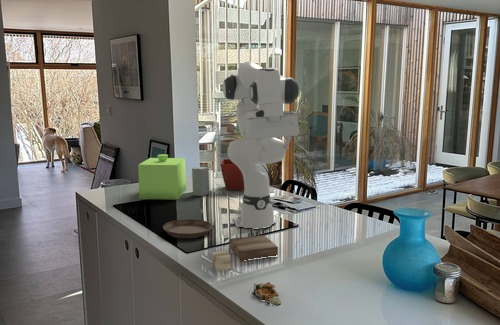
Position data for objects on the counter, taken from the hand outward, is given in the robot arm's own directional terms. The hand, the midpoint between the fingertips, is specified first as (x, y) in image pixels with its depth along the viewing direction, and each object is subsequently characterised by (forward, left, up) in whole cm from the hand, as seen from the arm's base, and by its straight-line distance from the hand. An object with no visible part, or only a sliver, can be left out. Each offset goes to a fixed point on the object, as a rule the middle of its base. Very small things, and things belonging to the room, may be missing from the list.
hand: (274, 150), depth 165 cm
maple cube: (+10, -23, -38) cm, 46 cm away
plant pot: (-107, +20, -39) cm, 116 cm away
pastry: (+35, -16, -39) cm, 54 cm away
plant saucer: (-32, -26, -39) cm, 57 cm away
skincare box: (-98, -5, -39) cm, 106 cm away
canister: (-106, -25, -39) cm, 116 cm away
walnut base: (0, -8, -38) cm, 39 cm away
